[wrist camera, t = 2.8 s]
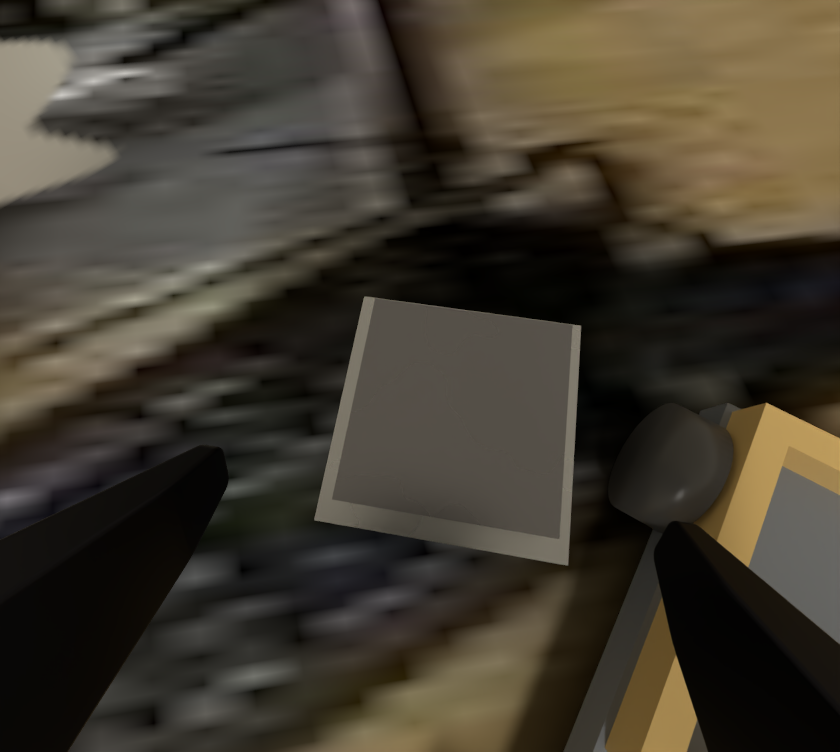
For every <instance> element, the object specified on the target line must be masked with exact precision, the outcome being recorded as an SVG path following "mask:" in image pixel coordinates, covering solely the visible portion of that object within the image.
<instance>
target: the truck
mask: <svg viewBox="0 0 840 752" xmlns="http://www.w3.org/2000/svg"><path fill="white" fill-rule="evenodd" d="M608 496H609V500H610V502H611V504H612V505H613V506H614V507H615V508H617V509H619V510H621V511H622V512H624V513H626V514H628V515H629V516H631V517H633V518H635V519H637V520H638V521H640V522H642V523H644V524H645V525H647V526H649V527H651V528H653V530H652V533H651V535H650V538H649V540H648V543H647V545H646V548H645V550H644V553H643V555H642V558H641V560H640V563H639V565H638V568H637V570H636V572H635V575H634V577H633V580H632V582H631V585H630V587H629V590H628V592H627V595H626V597H625V600H624V602H623V605H622V607H621V610H620V612H619V615H618V617H617V620H616V622H615V625H614V627H613V630H612V632H611V635H610V637H609V640H608V642H607V645H606V647H605V650H604V652H603V655H602V657H601V660H600V662H599V665H598V667H597V669H596V672H595V674H594V677H593V679H592V682H591V684H590V687H589V689H588V692H587V694H586V697H585V699H584V702H583V704H582V707H581V709H580V712H579V714H578V717H577V719H576V722H575V724H574V727H573V729H572V732H571V734H570V737H569V739H568V742H567V744H566V747H565V749H564V752H708V751H707V748H706V745H705V742H704V739H703V735H702V732H701V729H700V726H699V723H698V720H697V717H696V714H695V711H694V708H693V705H692V702H691V699H690V696H689V693H688V690H687V687H686V684H685V681H684V677H683V674H682V671H681V668H680V665H679V662H678V659H677V656H676V653H675V649H674V646H673V643H672V639H671V635H670V631H669V627H668V622H667V618H666V613H665V609H664V604H663V600H662V595H661V591H660V586H659V582H658V577H657V573H656V568H655V564H654V556H653V554H654V548H655V546H656V544H657V543H658V541H659V539H660V537H661V536H662V534H663V532H664V531H665V529H666V527H667V525H668V524H669V523H670V522H672V521H681V522H688V523H693V524H696V525H698V526H699V527H701V528H702V529H703V530H704V531H705V532H707V533H708V534H709V535H710V536H711V537H713V538H714V539H715V540H716V541H717V542H719V543H720V544H721V545H722V546H723V547H724V548H726V549H727V550H728V551H729V552H730V553H732V554H733V555H734V556H735V557H736V558H738V559H739V560H740V561H741V562H742V563H744V564H745V565H746V566H747V567H748V568H750V569H751V570H752V571H753V572H754V573H755V574H757V575H758V576H759V577H760V578H761V579H763V580H764V581H765V582H766V583H767V584H769V585H770V586H771V587H772V588H773V589H775V590H776V591H777V592H778V593H779V594H781V595H782V596H783V597H784V598H785V599H786V600H788V601H789V602H790V603H791V604H792V605H794V606H795V607H796V608H797V609H798V610H800V611H801V612H802V613H803V614H804V615H806V616H807V617H808V618H809V619H810V620H812V621H813V622H814V623H815V624H816V625H818V626H819V627H820V628H821V629H822V630H823V631H825V632H826V633H827V634H828V635H829V636H831V637H832V638H833V639H834V640H835V641H837V642H838V643H839V644H840V438H838V437H836V436H834V435H832V434H830V433H828V432H825V431H823V430H821V429H819V428H817V427H815V426H813V425H811V424H809V423H807V422H805V421H803V420H801V419H799V418H797V417H795V416H793V415H790V414H788V413H786V412H784V411H782V410H780V409H778V408H776V407H774V406H772V405H770V404H768V403H764V404H760V405H756V406H753V407H749V408H745V409H740V408H738V407H736V406H734V405H732V404H730V403H724V404H721V405H718V406H714V407H711V408H708V409H704V410H701V411H700V413H699V415H698V414H696V413H694V412H692V411H690V410H688V409H686V408H684V407H682V406H680V405H678V404H676V403H667V404H664V405H662V406H660V407H658V408H656V409H655V410H653V411H652V412H651V413H650V414H648V415H647V416H646V417H645V418H644V419H643V420H642V421H641V422H640V423H639V424H638V425H637V427H636V428H635V429H634V430H633V432H632V433H631V434H630V436H629V437H628V439H627V440H626V442H625V443H624V445H623V447H622V449H621V450H620V452H619V454H618V456H617V459H616V461H615V463H614V466H613V469H612V472H611V475H610V479H609V485H608Z"/></svg>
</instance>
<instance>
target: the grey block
mask: <svg viewBox="0 0 840 752" xmlns="http://www.w3.org/2000/svg"><path fill="white" fill-rule="evenodd" d="M580 338H581V326H579V325H572V324H564V323H557V322H550V321H542V320H535V319H528V318H520V317H513V316H505V315H498V314H491V313H483V312H476V311H468V310H461V309H454V308H446V307H439V306H432V305H424V304H417V303H409V302H402V301H395V300H387V299H380V298H372V297H365V296H364V300H363V304H362V309H361V313H360V318H359V322H358V327H357V331H356V335H355V340H354V344H353V349H352V353H351V358H350V362H349V367H348V371H347V376H346V380H345V385H344V389H343V394H342V398H341V403H340V407H339V411H338V416H337V420H336V425H335V429H334V434H333V438H332V443H331V447H330V452H329V456H328V461H327V465H326V470H325V474H324V479H323V483H322V488H321V492H320V496H319V501H318V505H317V510H316V514H315V519H314V520H316V521H322V522H327V523H333V524H339V525H344V526H350V527H355V528H361V529H366V530H372V531H378V532H383V533H389V534H394V535H400V536H406V537H411V538H417V539H422V540H428V541H433V542H439V543H445V544H450V545H456V546H461V547H467V548H472V549H478V550H484V551H489V552H495V553H500V554H506V555H511V556H517V557H523V558H528V559H534V560H539V561H545V562H550V563H556V564H562V565H567V566H568V557H569V539H570V521H571V503H572V484H573V466H574V448H575V429H576V411H577V393H578V375H579V356H580Z"/></svg>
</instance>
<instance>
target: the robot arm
mask: <svg viewBox="0 0 840 752" xmlns="http://www.w3.org/2000/svg"><path fill="white" fill-rule="evenodd" d="M228 479H229V476H228V471H227V466H226V461H225V456H224V452H223V450H222V449H221V448H219V447H215V446H209V445H199V446H197V447H195V448H193V449H190V450H188V451H186V452H184V453H182V454H180V455H178V456H176V457H174V458H171V459H169V460H167V461H165V462H163V463H161V464H159V465H157V466H155V467H153V468H150V469H148V470H146V471H144V472H142V473H140V474H138V475H136V476H134V477H132V478H129V479H127V480H125V481H123V482H121V483H119V484H117V485H115V486H113V487H110V488H108V489H106V490H104V491H102V492H100V493H98V494H96V495H94V496H92V497H89V498H87V499H85V500H83V501H81V502H79V503H77V504H75V505H73V506H70V507H68V508H66V509H64V510H62V511H60V512H58V513H56V514H54V515H51V516H49V517H47V518H45V519H43V520H41V521H39V522H37V523H35V524H32V525H30V526H28V527H26V528H24V529H22V530H20V531H18V532H16V533H14V534H11V535H9V536H7V537H5V538H3V539H1V540H0V752H68V751H69V749H70V747H71V746H72V744H73V743H74V741H75V739H76V738H77V736H78V735H79V733H80V732H81V730H82V728H83V727H84V725H85V724H86V722H87V721H88V719H89V717H90V716H91V714H92V713H93V711H94V710H95V708H96V706H97V705H98V703H99V702H100V700H101V699H102V697H103V695H104V694H105V692H106V691H107V689H108V688H109V686H110V684H111V683H112V681H113V680H114V678H115V677H116V675H117V673H118V672H119V670H120V669H121V667H122V666H123V664H124V662H125V661H126V659H127V658H128V656H129V655H130V653H131V651H132V650H133V648H134V647H135V645H136V644H137V642H138V640H139V639H140V637H141V636H142V634H143V632H144V631H145V629H146V628H147V626H148V625H149V623H150V621H151V620H152V618H153V617H154V615H155V614H156V612H157V610H158V609H159V607H160V606H161V604H162V603H163V601H164V599H165V598H166V596H167V595H168V593H169V592H170V590H171V588H172V587H173V585H174V584H175V582H176V581H177V579H178V577H179V576H180V574H181V573H182V571H183V570H184V568H185V566H186V565H187V563H188V561H189V560H190V558H191V556H192V555H193V553H194V551H195V549H196V547H197V545H198V543H199V541H200V539H201V537H202V535H203V533H204V532H205V530H206V528H207V526H208V524H209V522H210V520H211V518H212V516H213V514H214V512H215V510H216V508H217V506H218V504H219V502H220V500H221V498H222V496H223V494H224V492H225V490H226V488H227V485H228ZM653 556H654V564H655V568H656V573H657V577H658V582H659V586H660V591H661V595H662V600H663V604H664V609H665V613H666V618H667V622H668V627H669V631H670V635H671V639H672V643H673V646H674V649H675V653H676V656H677V659H678V662H679V665H680V668H681V671H682V674H683V677H684V681H685V684H686V687H687V690H688V693H689V696H690V699H691V702H692V705H693V708H694V711H695V714H696V717H697V720H698V723H699V726H700V729H701V732H702V735H703V739H704V742H705V745H706V748H707V751H708V752H840V644H839V643H838V642H837V641H835V640H834V639H833V638H832V637H831V636H829V635H828V634H827V633H826V632H825V631H823V630H822V629H821V628H820V627H819V626H818V625H816V624H815V623H814V622H813V621H812V620H810V619H809V618H808V617H807V616H806V615H804V614H803V613H802V612H801V611H800V610H798V609H797V608H796V607H795V606H794V605H792V604H791V603H790V602H789V601H788V600H786V599H785V598H784V597H783V596H782V595H781V594H779V593H778V592H777V591H776V590H775V589H773V588H772V587H771V586H770V585H769V584H767V583H766V582H765V581H764V580H763V579H761V578H760V577H759V576H758V575H757V574H755V573H754V572H753V571H752V570H751V569H750V568H748V567H747V566H746V565H745V564H744V563H742V562H741V561H740V560H739V559H738V558H736V557H735V556H734V555H733V554H732V553H730V552H729V551H728V550H727V549H726V548H724V547H723V546H722V545H721V544H720V543H719V542H717V541H716V540H715V539H714V538H713V537H711V536H710V535H709V534H708V533H707V532H705V531H704V530H703V529H702V528H701V527H699V526H698V525H696V524H693V523H688V522H681V521H672V522H670V523H669V524H668V525H667V527H666V529H665V531H664V532H663V534H662V536H661V537H660V539H659V541H658V543H657V544H656V546H655V548H654V554H653Z"/></svg>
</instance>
